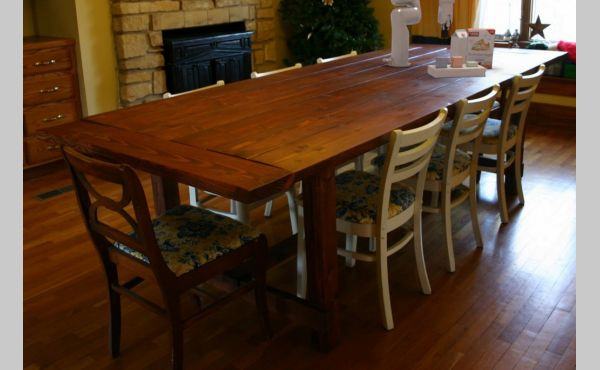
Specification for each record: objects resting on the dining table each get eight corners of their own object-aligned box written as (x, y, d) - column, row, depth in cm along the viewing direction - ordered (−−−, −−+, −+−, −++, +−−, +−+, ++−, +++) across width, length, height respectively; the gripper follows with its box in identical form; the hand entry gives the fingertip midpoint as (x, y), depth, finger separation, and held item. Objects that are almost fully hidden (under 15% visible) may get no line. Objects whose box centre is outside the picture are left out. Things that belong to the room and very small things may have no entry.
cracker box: (465, 68, 337) (468, 29, 330) (464, 67, 343) (467, 28, 336) (492, 68, 335) (495, 29, 328) (490, 67, 341) (494, 27, 334)
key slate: (437, 68, 317) (438, 58, 315) (435, 66, 321) (435, 56, 320) (447, 67, 317) (447, 57, 315) (444, 66, 322) (444, 56, 320)
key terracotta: (453, 67, 317) (453, 57, 316) (450, 66, 322) (451, 56, 320) (462, 67, 318) (463, 57, 316) (459, 65, 322) (460, 56, 320)
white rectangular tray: (434, 77, 314) (435, 69, 312) (427, 73, 327) (427, 65, 326) (485, 76, 315) (485, 68, 314) (476, 71, 328) (476, 63, 327)
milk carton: (449, 63, 355) (451, 29, 349) (459, 62, 358) (461, 28, 352) (457, 65, 349) (459, 30, 343) (467, 64, 352) (470, 29, 346)
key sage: (468, 72, 319) (468, 63, 317) (465, 71, 323) (465, 61, 322) (477, 72, 319) (478, 62, 317) (474, 70, 324) (474, 61, 322)
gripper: (434, -1, 315) (432, 36, 321) (443, 1, 301) (441, 39, 307) (449, -2, 315) (447, 35, 322) (459, 0, 301) (456, 39, 308)
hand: (444, 37), depth 314 cm, fingers closed
